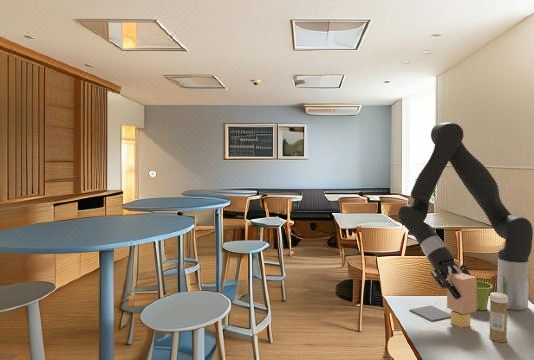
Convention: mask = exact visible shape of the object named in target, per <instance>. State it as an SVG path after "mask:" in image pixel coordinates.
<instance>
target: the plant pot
mask: <svg viewBox="0 0 534 360" xmlns="http://www.w3.org/2000/svg"><path fill="white" fill-rule="evenodd" d="M492 289H493V285H492V284H491V283H489V282H487V281H486V282H485V281H482V280H477V283H476V311H477V310H480V311H485V310H487V309H488V303H489V300H490V293H491V291H492Z"/></svg>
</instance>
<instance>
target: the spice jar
mask: <svg viewBox="0 0 534 360" xmlns="http://www.w3.org/2000/svg"><path fill="white" fill-rule="evenodd" d="M489 300H490V305H489V307H490V308H489V309H490V310H489V334H488V337H489V338H490V339H491V340H492V341H494V342H497V343H505V342H507V341H508V338H507V330H508V309H507V303H508V296H507V295H505V294H503V293H497V291H496V292H493V291H492V292H490V293H489Z"/></svg>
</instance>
